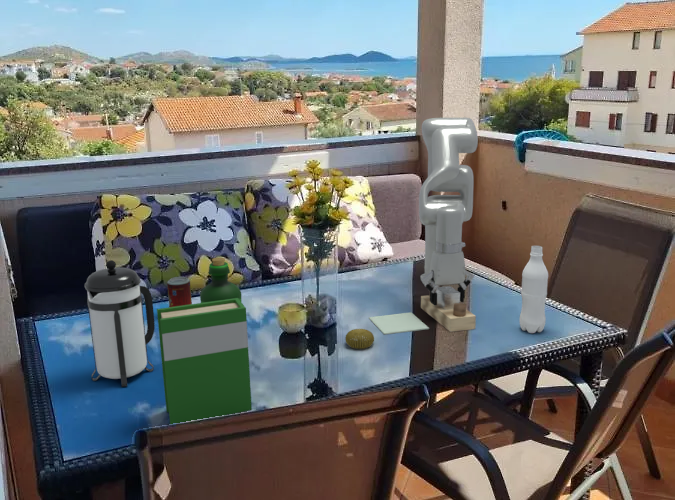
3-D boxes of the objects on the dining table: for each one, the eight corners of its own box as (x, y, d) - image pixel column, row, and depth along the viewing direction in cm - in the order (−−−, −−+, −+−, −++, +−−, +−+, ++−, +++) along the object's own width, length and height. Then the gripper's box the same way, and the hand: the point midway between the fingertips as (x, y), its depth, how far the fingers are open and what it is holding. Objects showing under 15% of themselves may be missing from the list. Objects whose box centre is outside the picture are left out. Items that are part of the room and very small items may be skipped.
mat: (368, 318, 193) (368, 317, 193) (411, 313, 197) (411, 312, 197) (384, 334, 180) (384, 333, 180) (428, 329, 184) (428, 327, 184)
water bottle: (547, 334, 178) (553, 249, 172) (522, 334, 178) (527, 250, 172) (540, 325, 185) (545, 243, 179) (516, 325, 185) (520, 244, 179)
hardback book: (170, 426, 133) (160, 320, 127) (166, 410, 139) (156, 309, 133) (251, 409, 139) (245, 307, 133) (243, 395, 145) (238, 297, 140)
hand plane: (420, 307, 202) (421, 284, 200) (443, 305, 204) (444, 281, 202) (450, 331, 181) (451, 305, 179) (475, 328, 183) (476, 303, 181)
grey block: (434, 302, 194) (435, 287, 193) (449, 301, 196) (450, 286, 194) (444, 310, 188) (444, 294, 186) (459, 308, 189) (460, 292, 188)
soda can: (168, 313, 201) (165, 277, 198) (190, 310, 203) (188, 274, 200) (171, 321, 194) (168, 283, 191) (194, 317, 197) (191, 280, 194)
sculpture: (341, 329, 175) (367, 325, 177) (341, 342, 176) (367, 338, 178) (351, 339, 167) (378, 334, 170) (351, 353, 168) (378, 348, 171)
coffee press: (158, 383, 153) (147, 265, 145) (89, 392, 148) (73, 271, 141) (157, 355, 169) (147, 248, 161) (94, 363, 164) (81, 253, 157)
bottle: (226, 374, 157) (219, 266, 150) (195, 365, 162) (187, 261, 155) (254, 358, 166) (248, 256, 159) (223, 350, 171) (217, 252, 164)
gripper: (469, 242, 193) (467, 296, 197) (416, 247, 188) (416, 301, 193) (480, 248, 186) (478, 303, 190) (426, 252, 181) (425, 309, 186)
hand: (447, 302), depth 191 cm, fingers open, 8 cm apart
